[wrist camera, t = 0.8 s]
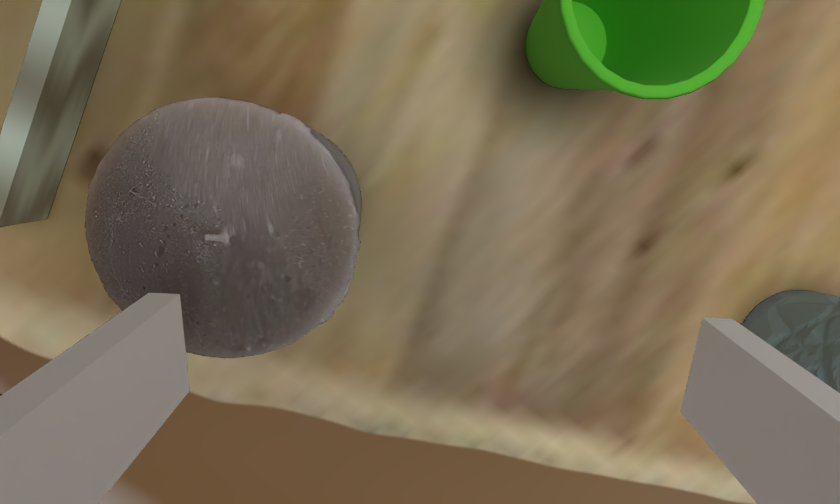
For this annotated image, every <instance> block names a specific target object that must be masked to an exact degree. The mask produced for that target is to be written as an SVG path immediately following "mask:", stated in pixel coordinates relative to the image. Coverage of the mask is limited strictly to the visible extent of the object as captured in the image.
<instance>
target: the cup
mask: <svg viewBox="0 0 840 504" xmlns="http://www.w3.org/2000/svg"><path fill="white" fill-rule="evenodd" d="M764 1H765V0H543V1H542V3H541V5H540V7H539V9H538V10H537V12H536V14H535V16H534V18H533V20H532V22H531V24H530V27H529V30H528V32H527V38H526V55H527V58H528V61H529V64H530V66H531V68H532V70H533V71H534V73H535V74H536V75H537V76H538V77H539V78H540V79H541V80H542V81H543V82H545V83H547V84H548V85H550V86H553V87H556V88H560V89H587V90H616V91H617V92H619V93H622V94H626V95H629V96H633V97H637V98H640V99H670V98H674V97H678V96H681V95H685V94H689V93H692V92H694V91H695V90H697V89H699V88H701V87H703V86H705V85H706V84H708V83H710V82H712V81H713V80H715V79H716V78H717V77H718V76H719V75H720V74H721V73H722V72H723V71H725V70H726V69H727V68H728V67H729V66H730V65H731V64H732V63H733V62H734V61H735V60H736V58H737V57H738V55H739V54H740V53H741V51H742V50H743V48H744V47H745V46H746V44H747V43H748V42H749V40H750V39H751V37H752V34H753V32H754V30H755V28H756V25H757V23H758V21H759V19H760V16H761V14H762V10H763V5H764Z"/></svg>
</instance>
